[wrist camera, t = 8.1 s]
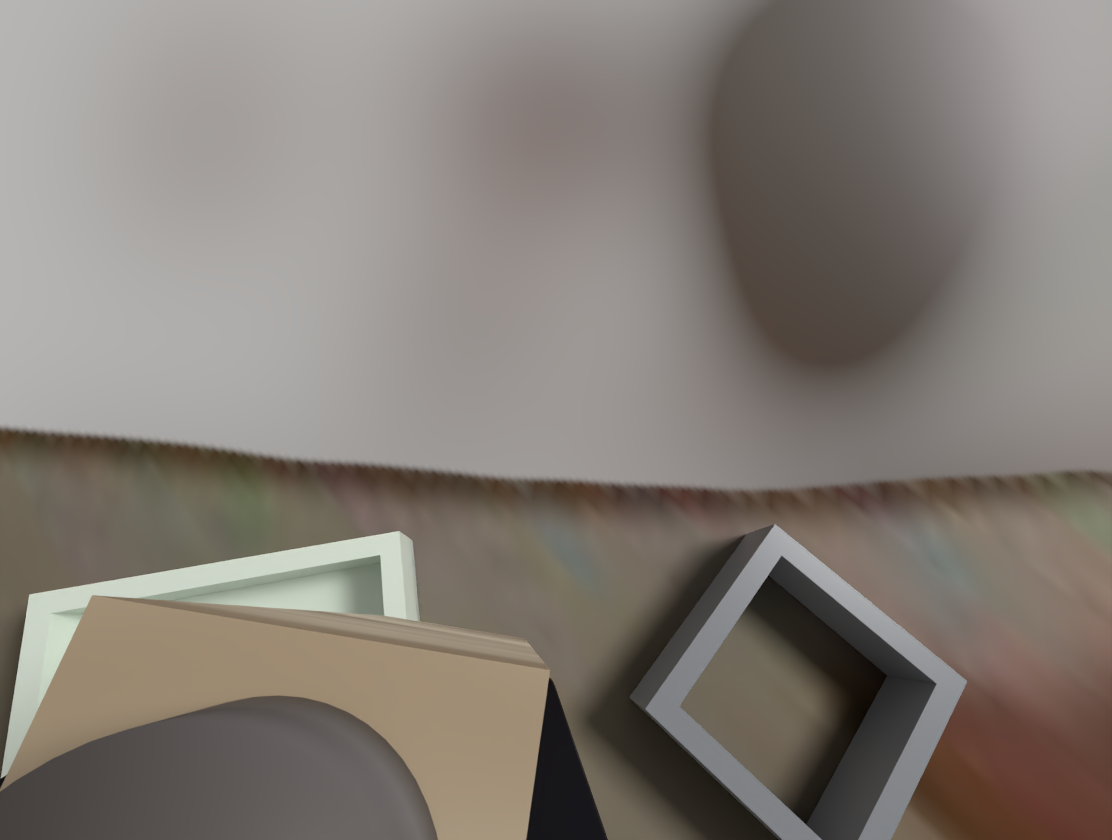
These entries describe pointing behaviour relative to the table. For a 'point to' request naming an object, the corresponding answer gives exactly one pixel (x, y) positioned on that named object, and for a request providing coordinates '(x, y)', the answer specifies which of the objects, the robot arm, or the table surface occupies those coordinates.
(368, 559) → the sage tray
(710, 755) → the frame
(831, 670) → the table surface
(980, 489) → the table surface
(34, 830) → the birch strut
